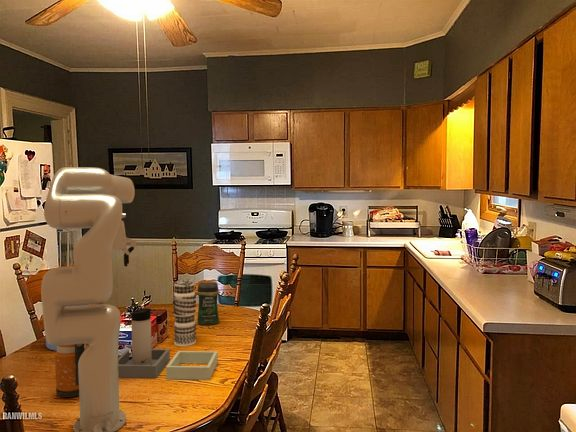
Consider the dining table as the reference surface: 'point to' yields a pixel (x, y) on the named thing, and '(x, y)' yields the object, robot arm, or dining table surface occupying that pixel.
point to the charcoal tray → (143, 371)
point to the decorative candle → (184, 313)
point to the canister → (68, 369)
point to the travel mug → (141, 337)
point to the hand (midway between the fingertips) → (110, 267)
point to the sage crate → (192, 371)
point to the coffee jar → (208, 303)
